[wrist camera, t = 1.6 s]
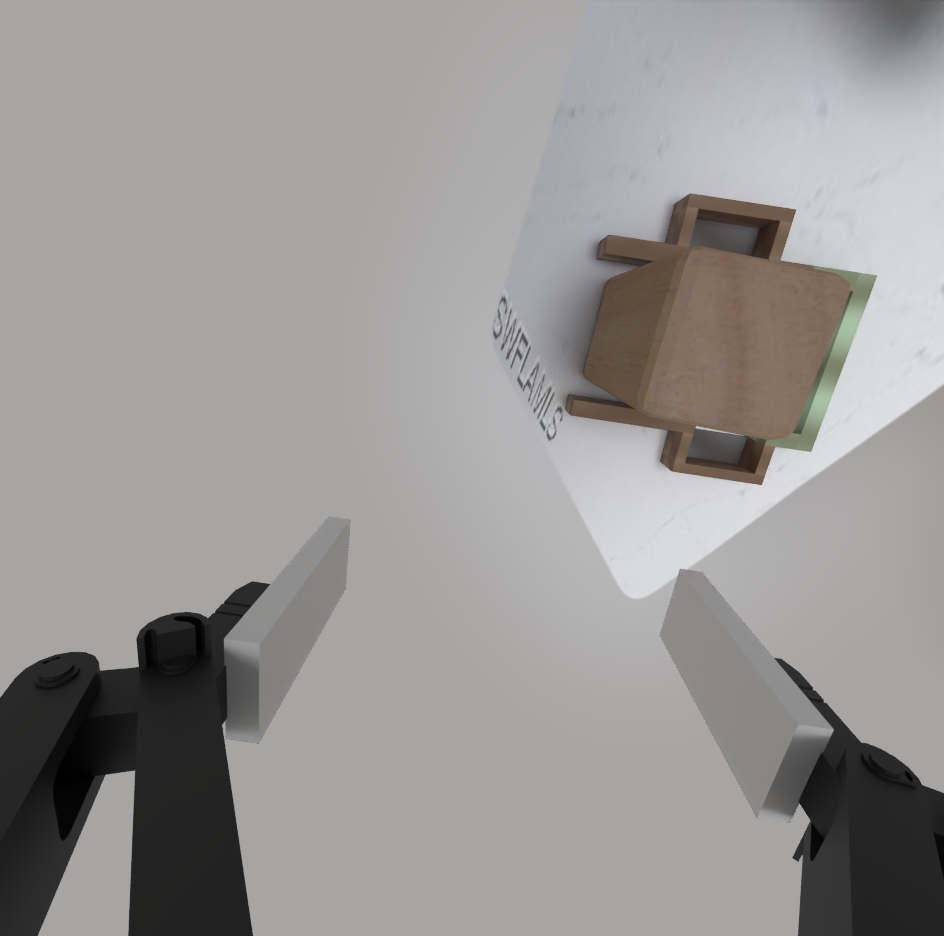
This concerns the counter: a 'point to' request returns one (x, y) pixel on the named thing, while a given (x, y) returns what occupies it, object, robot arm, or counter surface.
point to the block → (716, 339)
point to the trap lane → (753, 236)
